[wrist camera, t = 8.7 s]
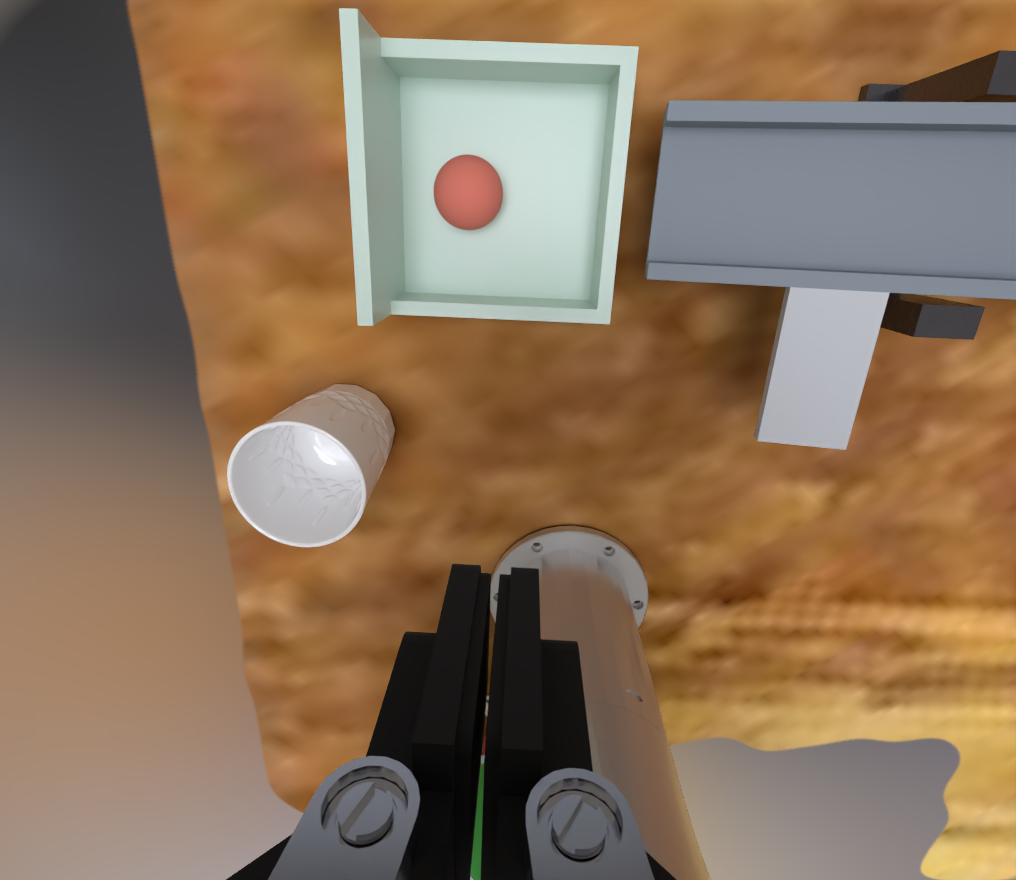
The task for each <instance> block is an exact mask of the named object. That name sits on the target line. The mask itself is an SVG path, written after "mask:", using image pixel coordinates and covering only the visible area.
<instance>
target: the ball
mask: <svg viewBox="0 0 1016 880" xmlns="http://www.w3.org/2000/svg"><path fill="white" fill-rule="evenodd" d="M433 192H434V200H435V204H436V207H437V209H438V211H439V213H440V214H441V216H442V217H443V218H444V219H445V220H446V221H447V222H448V223H449V224H451V225H452V226H454V227H456V228H459V229H462V230H476V229H480V228H482V227H484V226H486V225H487V224H489V223H490V222H491V221H492V220H493V219H494V218H495V217H496V215H497V214H498V212H499V210H500V207H501V204H502V200H503V187H502V183H501V179H500V177H499V175H498V173H497V171H496V170H495V169H494V167H493V166H492V165H491V164H490V163H489V162H488V161H486V160H484V159H483V158H481V157H478V156H475V155H468V154H467V155H460V156H456V157H454V158H452V159H450V160H449V161H447V162H446V163H445V164H444V165H443V166H442V167H441V169H440V170H439V172H438V174H437V176H436V179H435V182H434V191H433Z"/></svg>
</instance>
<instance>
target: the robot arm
mask: <svg viewBox="0 0 1016 880" xmlns="http://www.w3.org/2000/svg"><path fill="white" fill-rule="evenodd" d="M537 542H538V543H537ZM536 543H537V544H536ZM609 546H610V547H609ZM648 597H649V594H648V587H647V581H646V578H645V575H644V572H643V570H642V568H641V566H640V564H639V562H638V560H637V558H636V557H635V556H634V555H633V553H632V552H631V551H630V550H629V549H628V548H627V547H626V546H625V545H623V544H622V543H621V542H620V541H618V540H617V539H615V538H613V537H612V536H610V535H608V534H606V533H604V532H601V531H598V530H594V529H591V528H586V527H579V526H557V527H552V528H547V529H543V530H540V531H537V532H535V533H532V534H530V535H528V536H526V537H524V538H523V539H521V540H519V541H518V542H516V543H515V544H514V545H513V546H512V547H511V548H509V549H508V550H507V551H506V552H505V553H504V555H503V556H502V558H501V559H500V560H499V562H498V563H497V565H496V567H495V570H494V572H493V574H492V578H491V574H489V573H481V566H480V565H463V564H453V565H452V568H451V572H450V576H449V581H448V585H447V590H446V594H445V598H444V603H443V607H442V611H441V616H440V620H439V624H438V629H437V633H422V632H406V633H405V634H404V636H403V639H402V642H401V645H400V648H399V651H398V655H397V658H396V661H395V664H394V668H393V671H392V674H391V677H390V681H389V684H388V687H387V690H386V694H385V697H384V700H383V703H382V707H381V710H380V713H379V716H378V720H377V723H376V726H375V729H374V733H373V736H372V739H371V742H370V746H369V749H368V752H367V755H366V757H363V758H359V759H354V760H352V761H350V762H348V763H346V764H344V765H342V766H340V767H338V768H337V769H336V770H335V771H334V772H332V773H331V774H330V775H329V776H328V777H327V778H325V780H324V781H323V782H322V784H321V785H320V786H319V788H318V789H317V791H316V792H315V793H314V795H313V797H312V799H311V801H310V803H309V805H308V806H307V808H306V810H305V812H304V814H303V816H302V818H301V819H300V821H299V823H298V825H297V827H296V829H295V831H294V832H293V834H292V835H290V836H289V837H287V838H286V839H284V840H283V841H282V842H280V843H279V844H277V845H276V846H274V847H273V848H271V849H270V850H269V851H267V852H266V853H264V854H263V855H261V856H260V857H258V858H257V859H255V860H254V861H253V862H251V863H250V864H248V865H247V866H245V867H244V868H242V869H241V870H239V871H238V872H237V873H235V874H234V875H232V876H231V877H229V878H228V879H226V880H470V874H471V863H472V852H473V841H474V831H475V820H476V809H477V798H478V787H479V776H480V765H481V754H482V743H483V732H484V722H485V711H486V700H487V684H488V655H489V625H490V611H491V614H492V616H493V619H494V622H495V634H494V645H493V657H492V668H491V680H490V691H489V703H488V714H487V726H486V739H485V757H484V786H483V818H482V849H481V880H711V879H710V876H709V873H708V871H707V868H706V865H705V863H704V860H703V858H702V855H701V852H700V849H699V846H698V842H697V840H696V836H695V833H694V830H693V827H692V824H691V821H690V817H689V814H688V811H687V807H686V804H685V800H684V797H683V793H682V790H681V786H680V783H679V779H678V775H677V772H676V768H675V764H674V760H673V757H672V753H671V749H670V745H669V742H668V738H667V734H666V730H665V727H664V723H663V719H662V715H661V712H660V708H659V704H658V700H657V697H656V693H655V689H654V686H653V682H652V678H651V674H650V671H649V667H648V663H647V659H646V656H645V652H644V648H643V644H642V641H641V637H640V633H639V629H638V628H639V626H640V625H641V623H642V621H643V620H644V617H645V614H646V611H647V607H648Z"/></svg>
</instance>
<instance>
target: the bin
mask: <svg viewBox="0 0 1016 880" xmlns="http://www.w3.org/2000/svg"><path fill="white" fill-rule="evenodd" d="M339 16H340V33H341V50H342V67H343V84H344V101H345V118H346V135H347V151H348V168H349V185H350V202H351V219H352V236H353V253H354V270H355V287H356V304H357V321H358V325H361V326H374V325H375V324H377V323H379V322H380V321H382V320H383V319H385V318H386V317H388V316H389V315H391V314H394V315H416V316H438V317H461V318H483V319H505V320H528V321H550V322H572V323H594V324H610V317H611V308H612V298H613V289H614V279H615V269H616V260H617V250H618V241H619V231H620V221H621V212H622V202H623V192H624V183H625V173H626V164H627V154H628V144H629V135H630V125H631V115H632V106H633V96H634V87H635V77H636V67H637V58H638V48H639V47H636V46H607V45H578V44H549V43H520V42H491V41H462V40H433V39H404V38H381V37H380V36H379V35H378V34H377V33H376V31H375V30H374V29H373V28H372V26H371V25H370V24H369V23H368V21H367V20H366V19H365V18H364V16H363V15H362V14H361V13H360V11H359V10H358V9H347V8H339ZM467 154H468V155H475V156H478V157H481V158H483V159H484V160H486V161H488V162H489V163H490V164H491V165H492V166H493V167H494V169H495V170H496V171H497V173H498V175H499V177H500V179H501V183H502V187H503V200H502V204H501V207H500V210H499V212H498V214H497V215H496V217H495V218H494V219H493V220H492V221H491V222H490V223H489V224H487V225H486V226H484V227H482V228H480V229H476V230H462V229H459V228H456V227H454V226H452V225H451V224H449V223H448V222H447V221H446V220H445V219H444V218H443V217H442V216H441V214H440V213H439V211H438V209H437V207H436V204H435V200H434V192H433V191H434V182H435V179H436V176H437V174H438V172H439V170H440V169H441V167H442V166H443V165H444V164H445V163H446V162H447V161H449V160H450V159H452V158H454V157H456V156H460V155H467Z"/></svg>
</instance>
